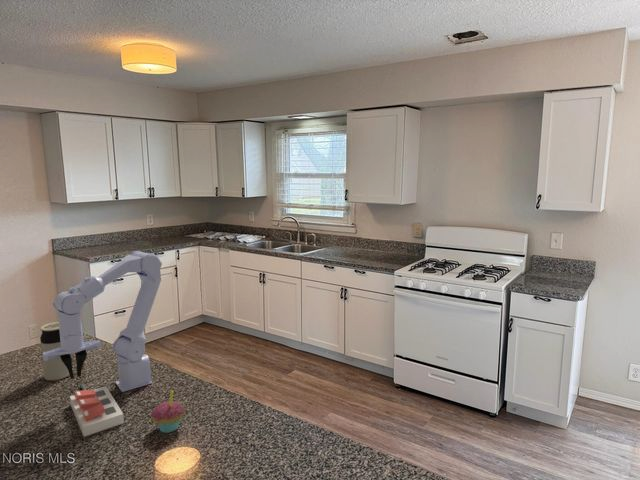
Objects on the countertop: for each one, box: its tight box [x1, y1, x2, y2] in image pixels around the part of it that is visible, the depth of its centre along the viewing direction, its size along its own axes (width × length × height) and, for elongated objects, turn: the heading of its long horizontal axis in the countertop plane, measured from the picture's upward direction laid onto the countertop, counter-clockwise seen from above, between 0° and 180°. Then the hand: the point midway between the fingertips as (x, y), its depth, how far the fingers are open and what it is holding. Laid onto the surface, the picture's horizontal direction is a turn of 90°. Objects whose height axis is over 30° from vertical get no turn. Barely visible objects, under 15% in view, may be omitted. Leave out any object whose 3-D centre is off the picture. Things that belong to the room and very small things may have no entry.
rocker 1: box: [73, 388, 96, 400], centre depth 128 cm, size 5×4×1 cm
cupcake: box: [150, 388, 185, 434], centre depth 117 cm, size 9×8×12 cm
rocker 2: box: [82, 403, 105, 421], centre depth 118 cm, size 5×4×1 cm
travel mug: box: [39, 321, 70, 381], centre depth 146 cm, size 8×8×18 cm
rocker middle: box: [78, 397, 101, 409], centre depth 123 cm, size 5×4×1 cm
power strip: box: [69, 383, 125, 437], centre depth 128 cm, size 10×30×3 cm, turn 39°
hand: (75, 376), depth 127 cm, fingers closed
